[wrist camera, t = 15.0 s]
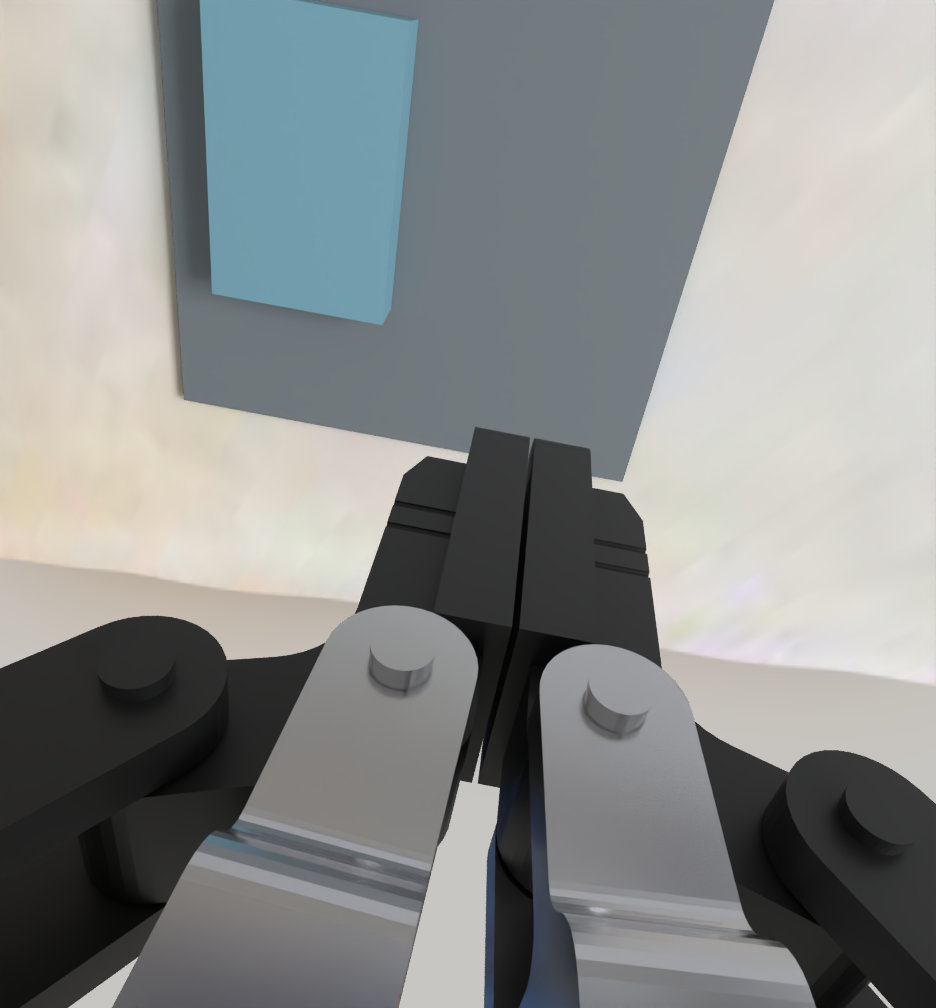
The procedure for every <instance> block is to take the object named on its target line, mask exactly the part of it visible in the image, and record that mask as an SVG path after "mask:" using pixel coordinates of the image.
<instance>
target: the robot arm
mask: <svg viewBox="0 0 936 1008" xmlns="http://www.w3.org/2000/svg"><path fill="white" fill-rule="evenodd" d="M529 445H530V437H526V436H521V435H516V434H511V433H506V432H500V431H495V430H490V429H485V428H480V427H475V429H474V433H473V438H472V442H471V447H470V451H469V456H468V460H467V464H465V463H460V462H455V461H450V460H444V459H439V458H434V457H429V456H427V457H426V458H424V459H423V460H422V461H421V462H419V463H418V464H417V465H416V466H414V467H413V468H412V469H410V470H409V471H408V472H407V473H405V474H404V475H403V478H402V481H401V484H400V487H399V490H398V493H397V496H396V498H395V503H394V505H393V507H392V510H391V513H390V516H389V519H388V522H387V527H385V530H384V533H383V536H382V539H381V542H380V545H379V547H378V550H377V553H376V556H375V559H374V562H373V565H372V568H371V571H370V573H369V576H368V579H367V582H366V585H365V588H364V591H363V594H362V597H361V599H360V602H359V605H358V608H357V610H356V612H355V614H354V615H353V616H351V617H349V618H347V619H346V620H344V621H343V622H342V623H340V624H339V625H338V626H337V627H336V628H335V629H334V630H333V631H332V633H331V634H330V636H329V638H328V639H327V641H326V643H324V644H322V645H320V646H318V647H316V648H313V649H310V650H307V651H305V652H301V653H297V654H293V655H287V656H279V657H269V658H253V659H237V660H226V656H225V654H224V651H223V649H222V647H221V646H220V644H219V643H218V641H217V640H216V639H215V638H214V637H213V636H212V635H211V634H210V633H209V632H207V631H206V630H204V629H202V628H201V627H199V626H197V625H195V624H193V623H190V622H188V621H185V620H181V619H177V618H172V617H164V616H140V617H132V618H126V619H122V620H118V621H114V622H111V623H108V624H105V625H103V626H100V627H97V628H95V629H93V630H90V631H88V632H86V633H83V634H81V635H78V636H76V637H74V638H71V639H69V640H67V641H65V642H62V643H60V644H58V645H55V646H52V647H50V648H48V649H45V650H43V651H41V652H38V653H36V654H34V655H31V656H29V657H27V658H24V659H22V660H19V661H17V662H15V663H12V664H10V665H8V666H5V667H3V668H1V669H0V1008H68V1007H69V1006H71V1005H72V1004H74V1003H75V1002H76V1001H78V1000H79V999H80V998H82V997H83V996H84V995H86V994H87V993H89V992H90V991H91V990H93V989H94V988H96V987H97V986H98V985H100V984H101V983H103V982H104V981H105V980H107V979H108V978H110V977H111V976H112V975H113V974H115V973H116V972H118V971H119V970H121V969H122V968H123V967H125V966H126V965H127V964H129V963H130V962H132V961H133V960H134V959H136V958H137V957H138V959H137V961H136V963H135V965H134V967H133V969H132V971H131V972H130V975H129V976H128V978H127V980H126V982H125V984H124V986H123V988H122V990H121V991H120V994H119V995H118V997H117V999H116V1001H115V1003H114V1005H113V1007H112V1008H399V1004H400V1000H401V996H402V991H403V987H404V983H405V979H406V975H407V970H408V967H409V962H410V958H411V954H412V950H413V946H414V942H415V937H416V933H417V929H418V925H419V921H420V917H421V913H422V909H423V904H424V900H425V896H426V892H427V888H428V884H429V880H430V875H431V871H432V867H433V863H434V859H435V855H436V851H437V847H438V845H439V844H440V843H441V841H442V840H443V838H444V836H445V834H446V832H447V830H448V827H449V823H450V819H451V815H452V811H453V807H454V802H455V799H456V794H457V791H458V787H459V782H460V780H461V781H466V782H471V783H472V780H473V776H474V772H475V768H476V764H477V760H478V756H479V752H480V749H481V745H482V741H483V745H482V753H481V762H480V771H479V778H478V783H479V784H483V785H489V786H493V787H498V788H500V794H499V805H498V816H497V824H496V827H495V830H494V834H493V837H492V840H491V843H490V847H489V850H488V857H487V887H486V938H485V987H484V988H485V989H484V1008H888V1007H887V1006H886V1005H885V1004H884V1003H883V1002H882V1000H881V999H880V998H879V997H878V996H877V995H876V994H875V993H874V991H873V990H872V989H871V988H870V987H869V986H868V984H869V983H870V982H872V984H873V985H874V986H875V987H876V988H877V989H878V991H880V993H881V994H882V995H883V996H884V997H885V998H886V999H887V1001H888V1002H889V1003H890V1004H891V1005H892V1006H893V1007H894V1008H936V804H935V803H934V802H933V801H932V800H931V799H929V798H928V797H927V796H926V795H925V794H924V793H923V792H922V791H921V790H919V789H918V788H917V787H916V786H914V785H913V784H912V783H911V782H910V781H908V780H907V779H906V778H904V777H903V776H901V775H899V774H898V773H897V772H895V771H893V770H892V769H890V768H888V767H886V766H884V765H883V764H881V763H879V762H876V761H874V760H871V759H869V758H867V757H864V756H861V755H857V754H854V753H850V752H844V751H838V750H833V751H832V750H824V751H819V752H814V753H811V754H809V755H807V756H804V757H803V758H801V759H800V760H799V761H797V762H796V763H795V765H794V766H793V768H792V769H791V770H790V772H786V771H784V770H782V769H780V768H778V767H776V766H774V765H772V764H769V763H767V762H765V761H763V760H761V759H758V758H756V757H754V756H752V755H750V754H748V753H746V752H744V751H742V750H740V749H737V748H735V747H733V746H731V745H729V744H727V743H726V742H724V741H722V740H720V739H718V738H716V737H715V736H714V735H712V734H711V733H709V732H707V731H706V730H705V729H703V728H702V727H701V726H700V725H699V724H697V723H696V722H695V721H694V717H693V714H692V710H691V707H690V705H689V702H688V700H687V698H686V696H685V694H684V693H683V691H682V690H681V688H680V687H679V686H678V684H677V683H676V682H675V681H674V680H673V679H672V678H671V677H670V676H669V675H668V674H667V673H666V672H665V671H664V670H663V669H662V667H661V659H660V651H659V643H658V636H657V628H656V620H655V612H654V605H653V597H652V589H651V581H650V578H648V575H649V566H648V558H647V554H645V552H646V543H645V535H644V527H643V521H642V519H641V518H640V516H639V515H638V514H637V512H636V511H635V509H634V508H633V507H632V505H631V504H630V502H629V501H628V500H627V498H626V497H625V495H624V494H621V493H616V492H611V491H605V490H600V489H595V488H592V472H591V451H590V449H589V448H584V447H579V446H574V445H569V444H563V443H558V442H553V441H548V440H543V439H538V438H534V440H533V443H532V446H531V450H530V454H529ZM528 455H529V458H528Z"/></svg>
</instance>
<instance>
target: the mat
mask: <svg viewBox="0 0 936 1008" xmlns="http://www.w3.org/2000/svg"><path fill="white" fill-rule="evenodd" d="M314 1H320V2H325V3H331V4H336V5H342V6H347V7H353V8H358V9H364V10H369V11H375V12H380V13H386V14H391V15H397V16H402V17H408V18H413V19H419V21H418V31H417V42H416V52H415V63H414V73H413V84H412V94H411V105H410V115H409V126H408V136H407V147H406V157H405V168H404V179H403V189H402V200H401V210H400V221H399V231H398V242H397V252H396V263H395V273H394V284H393V294H392V305H391V310H390V312H389V314H388V316H387V317H386V319H385V321H384V323H383V325H379V324H373V323H368V322H362V321H357V320H352V319H346V318H341V317H335V316H330V315H325V314H319V313H314V312H308V311H303V310H297V309H292V308H287V307H281V306H276V305H270V304H265V303H260V302H254V301H249V300H243V299H238V298H233V297H227V296H222V295H216V294H212V280H211V256H210V232H209V208H208V185H207V161H206V137H205V113H204V89H203V65H202V42H201V18H200V0H157V8H158V23H159V38H160V52H161V67H162V82H163V97H164V112H165V127H166V142H167V156H168V171H169V186H170V201H171V216H172V231H173V245H174V260H175V275H176V290H177V305H178V320H179V334H180V349H181V364H182V379H183V394H184V400H188V401H194V402H199V403H204V404H210V405H215V406H220V407H226V408H231V409H236V410H242V411H247V412H252V413H258V414H263V415H268V416H274V417H279V418H284V419H290V420H295V421H301V422H306V423H311V424H317V425H322V426H327V427H333V428H338V429H343V430H349V431H354V432H359V433H365V434H370V435H375V436H381V437H386V438H391V439H397V440H402V441H407V442H413V443H418V444H423V445H429V446H434V447H439V448H445V449H450V450H455V451H461V452H466V453H469V451H470V447H471V442H472V438H473V433H474V429H475V427H480V428H485V429H490V430H495V431H500V432H506V433H511V434H516V435H521V436H526V437H530V445H529V454H530V450H531V446H532V443H533V440H534V438H538V439H543V440H548V441H553V442H558V443H563V444H569V445H574V446H579V447H584V448H589V449H590V451H591V472H592V476H594V477H600V478H605V479H610V480H616V481H621V482H622V481H623V478H624V475H625V472H626V468H627V465H628V462H629V459H630V456H631V453H632V449H633V446H634V443H635V440H636V437H637V434H638V430H639V427H640V424H641V421H642V418H643V415H644V411H645V408H646V405H647V402H648V399H649V396H650V392H651V389H652V386H653V383H654V380H655V377H656V373H657V370H658V367H659V364H660V361H661V358H662V354H663V351H664V348H665V345H666V342H667V339H668V335H669V332H670V329H671V326H672V323H673V320H674V316H675V313H676V310H677V307H678V304H679V301H680V297H681V294H682V291H683V288H684V285H685V282H686V278H687V275H688V272H689V269H690V266H691V263H692V259H693V256H694V253H695V250H696V247H697V244H698V240H699V237H700V234H701V231H702V228H703V225H704V221H705V218H706V215H707V212H708V209H709V206H710V202H711V199H712V196H713V193H714V190H715V187H716V183H717V180H718V177H719V174H720V171H721V168H722V164H723V161H724V158H725V155H726V152H727V149H728V145H729V142H730V139H731V136H732V133H733V130H734V126H735V123H736V120H737V117H738V114H739V111H740V107H741V104H742V101H743V98H744V95H745V92H746V88H747V85H748V82H749V79H750V76H751V73H752V69H753V66H754V63H755V60H756V57H757V54H758V50H759V47H760V44H761V41H762V38H763V35H764V31H765V28H766V25H767V22H768V19H769V16H770V12H771V9H772V6H773V3H774V0H314ZM528 458H529V455H528Z"/></svg>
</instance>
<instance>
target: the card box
mask: <svg viewBox="0 0 936 1008" xmlns="http://www.w3.org/2000/svg"><path fill="white" fill-rule="evenodd" d="M200 18H201V42H202V65H203V89H204V113H205V137H206V161H207V185H208V208H209V232H210V256H211V280H212V294H216V295H222V296H227V297H233V298H238V299H243V300H249V301H254V302H260V303H265V304H270V305H276V306H281V307H287V308H292V309H297V310H303V311H308V312H314V313H319V314H325V315H330V316H335V317H341V318H346V319H352V320H357V321H362V322H368V323H373V324H379V325H383V323H384V321H385V319H386V317H387V316H388V314H389V312H390V310H391V305H392V294H393V284H394V273H395V263H396V252H397V242H398V231H399V221H400V210H401V200H402V189H403V179H404V168H405V157H406V147H407V136H408V126H409V115H410V105H411V94H412V84H413V73H414V63H415V52H416V42H417V31H418V21H419V19H413V18H408V17H402V16H397V15H391V14H386V13H380V12H375V11H369V10H364V9H358V8H353V7H347V6H342V5H336V4H331V3H325V2H320V1H314V0H200Z"/></svg>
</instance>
